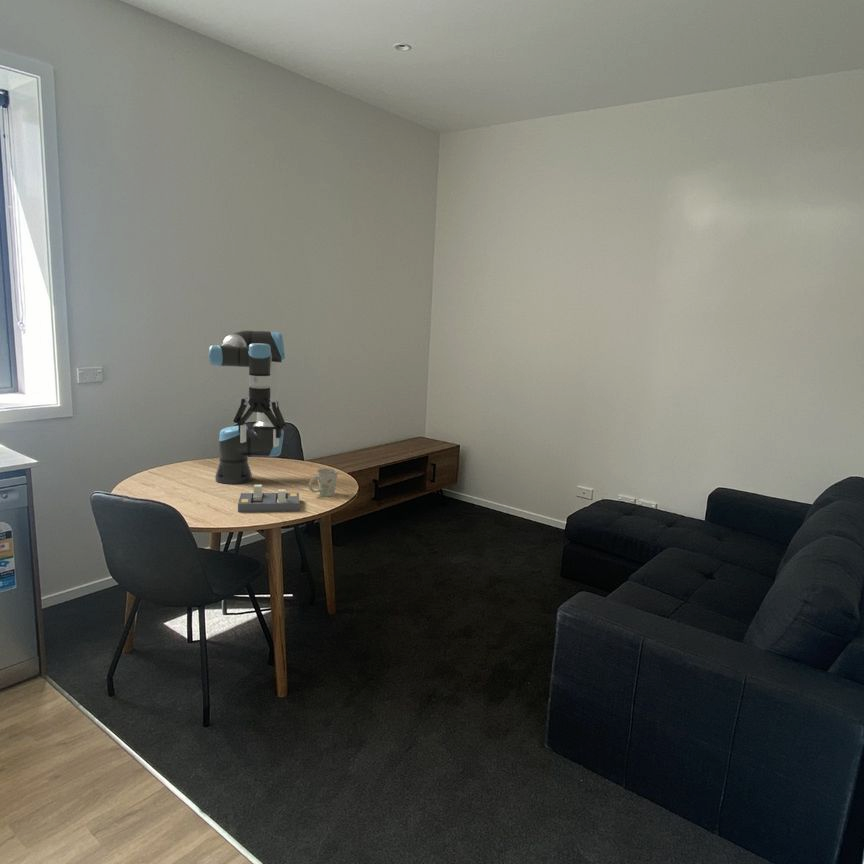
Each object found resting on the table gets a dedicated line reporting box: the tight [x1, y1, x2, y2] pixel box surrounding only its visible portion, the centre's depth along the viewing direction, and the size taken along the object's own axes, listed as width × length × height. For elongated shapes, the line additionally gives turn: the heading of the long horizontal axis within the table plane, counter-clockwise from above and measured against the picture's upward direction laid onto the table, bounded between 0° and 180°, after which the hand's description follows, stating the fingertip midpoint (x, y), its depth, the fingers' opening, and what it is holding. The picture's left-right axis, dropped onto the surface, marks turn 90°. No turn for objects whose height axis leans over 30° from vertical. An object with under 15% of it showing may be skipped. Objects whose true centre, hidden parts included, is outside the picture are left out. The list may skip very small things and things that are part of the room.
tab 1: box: [253, 484, 263, 501], centre depth 236 cm, size 4×3×6 cm
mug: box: [308, 468, 338, 498], centre depth 250 cm, size 8×13×10 cm, turn 133°
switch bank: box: [237, 492, 300, 513], centre depth 234 cm, size 14×22×3 cm, turn 102°
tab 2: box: [277, 489, 287, 503], centre depth 231 cm, size 4×3×6 cm
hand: (259, 444), depth 225 cm, fingers open, 13 cm apart
